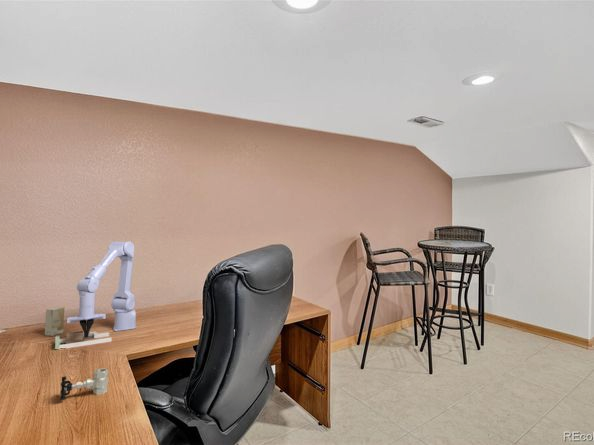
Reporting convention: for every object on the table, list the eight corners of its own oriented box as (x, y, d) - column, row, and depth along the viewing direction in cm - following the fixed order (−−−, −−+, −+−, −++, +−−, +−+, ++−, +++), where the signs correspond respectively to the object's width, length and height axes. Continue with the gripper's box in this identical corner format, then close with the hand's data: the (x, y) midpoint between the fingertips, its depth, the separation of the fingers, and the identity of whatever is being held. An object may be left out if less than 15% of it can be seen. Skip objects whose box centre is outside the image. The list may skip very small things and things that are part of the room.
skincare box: (52, 336, 156) (52, 309, 157) (44, 335, 157) (45, 309, 158) (64, 332, 163) (65, 306, 163) (56, 331, 164) (57, 306, 164)
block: (82, 340, 151) (82, 330, 151) (82, 344, 147) (83, 333, 147) (65, 343, 147) (66, 332, 147) (66, 346, 143) (66, 335, 143)
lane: (107, 332, 163) (107, 326, 163) (111, 341, 150) (111, 334, 151) (55, 340, 151) (55, 333, 151) (55, 350, 139) (55, 342, 139)
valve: (107, 386, 108) (62, 395, 102) (108, 365, 108) (63, 372, 102) (108, 395, 102) (59, 404, 96) (108, 373, 102) (60, 381, 96)
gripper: (67, 309, 142) (66, 342, 142) (106, 305, 151) (105, 336, 150) (67, 306, 148) (66, 337, 148) (105, 302, 156) (104, 332, 156)
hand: (86, 336), depth 149 cm, fingers closed
